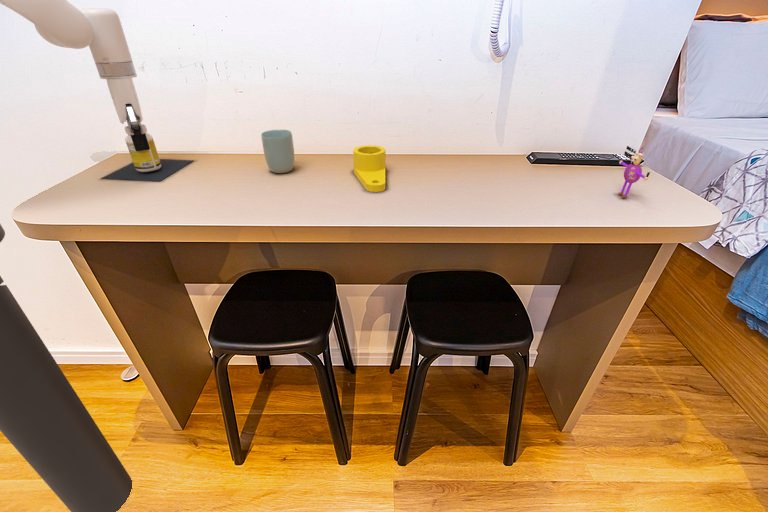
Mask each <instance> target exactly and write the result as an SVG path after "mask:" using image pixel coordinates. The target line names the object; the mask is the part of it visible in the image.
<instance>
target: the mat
mask: <svg viewBox="0 0 768 512" xmlns="http://www.w3.org/2000/svg"><path fill="white" fill-rule="evenodd" d="M159 159H160V162H161V168H160V169H158V170H155V171H150V172H139V171H137V170H136V169H135V166H134V163H133V162H131V163H128V164H127V165H125V166H123V167H121V168H119V169H117V170H115V171H113V172H111V173H109V174H107V175H105V176H102V177H101V178H100V179H101V180H117V181H118V180H119V181H140V182H142V181H143V182H162V181H163V180H165V179H167V178H168V177H170V176H172V175H173V174H175V173H176V172H178V171H180V170H182V169H183V168H185V167H186V166H188V165H189V164H192V163H193V162H194V160H190V159H163V158H159Z"/></svg>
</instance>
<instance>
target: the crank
mask: <svg viewBox="0 0 768 512" xmlns="http://www.w3.org/2000/svg"><path fill="white" fill-rule="evenodd" d="M352 158H353V174H354V175H355V177H357V179H358V181H359V182H360V183H361V185H362V186H363V188H364V189H365V190H366V191H367V192H370V193H380V192H383V191H385V190H386V148H385V147H383V146H379V145H371V144H370V145H368V144H367V145H360V146H355V147H354V148H353V149H352Z"/></svg>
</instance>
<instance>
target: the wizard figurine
mask: <svg viewBox="0 0 768 512" xmlns="http://www.w3.org/2000/svg"><path fill="white" fill-rule="evenodd" d="M643 149H644V146H643V145H642V146H641V148H640V149H639V150H638V151H637V150H635V149H634V148H633V147H630V146H628V145H626V150H627V151H626V150H625V151H624V153H623V154H624V155H625V156H626V157H628V158H629V159H630V161H631V162H630V163H629V164H628V163H626V162H624V161H623V160H620V161H619V165H622V166H624V167H625V169H624V171H623V179H624V180H625V181H624V183H623V185H622V188H621V191H620V192H618V193H617V196H621V198H622V199H627V197H628V195H629V192H630V189H631V187H632V185H633V184H634V183H637V182H638V181H639V180H640V178H641V179H643V180H644V181H648V180H649V176H650V174H651V170H648V171H647V173H646V175H645V174H643V170H642V167H641V165H640V163H641V162H642V159H643V158H644V153H643ZM628 151H629V152H628ZM631 153H633V154H634V155H633V154H631ZM627 184H628V185H627ZM624 192H625V193H624Z"/></svg>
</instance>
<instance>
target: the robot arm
mask: <svg viewBox="0 0 768 512" xmlns="http://www.w3.org/2000/svg"><path fill="white" fill-rule="evenodd" d="M0 4H1V5H2V6H5V7H6V8H8V9H9V10H12V11H13V12H15V13H16V14H18V15H19V16H21V17H23V18H25V19H26V20H27V21H29V22H30V23H32V24H33V25H34V28H35V31H36V32H37V33H38V34H39V36H40V37H41V38H42V39H44V41H46V42H48V43H49V44H52V45H54V46H57V47H61V48H67V49H74V50H82V49H85V48H87V47H89V50H90V53H91V55H92V59H93V62H94V65H95V67H96V71H97V73H98V76H99V78H100V79H101V80H106V84H107V87H108V91H109V94H110V97H111V100H112V104H113V105H114V109H115V112H116V114H117V117H118V119H119V123H120V124H122V125H125V122H127V126H129V129H130V132H131V138H132V141H133V144H134V147H135V150H136V151H144V150H149V149H150V147H149V144H148V141H147V138H146V134H145V133H144V131H143V128H142V125H143V124H142V122H143V119H144V118H143V113H142V110H141V109H142V108H141V105H140V101H139V98H138V93H137V90H136V87H135V84H134V80H133V78H137V77H138V73H137V71H136V68H135V65H134V62H133V58H132V55H131V52H130V49H129V45H128V41H127V38H126V35H125V32H124V27H123V25H122V22H121V19H120V16H119V14H118V13H117V11H115V10H114V9H112V8H107V7H83V8H80V9H78V8H77V7H76V6H75V5H74V4H72V3H71V2H70V1H68V0H0ZM141 124H142V125H141Z"/></svg>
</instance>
